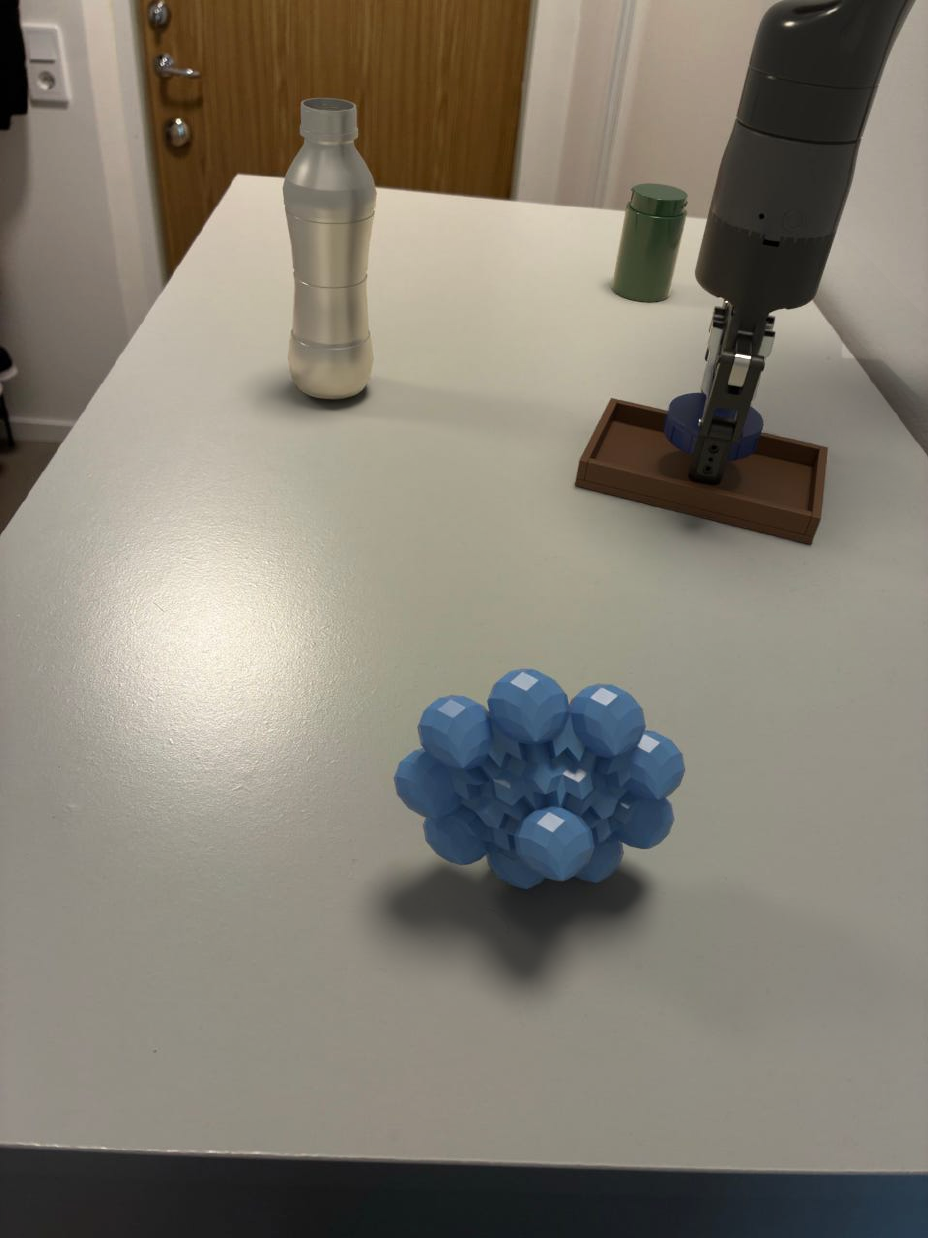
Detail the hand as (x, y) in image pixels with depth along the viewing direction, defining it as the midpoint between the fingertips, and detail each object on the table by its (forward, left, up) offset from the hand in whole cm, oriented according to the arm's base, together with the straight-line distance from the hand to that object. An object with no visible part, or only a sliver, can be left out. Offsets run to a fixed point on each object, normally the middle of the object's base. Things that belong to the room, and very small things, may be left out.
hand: (706, 455), depth 67 cm
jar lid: (0, 0, +3) cm, 3 cm away
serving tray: (0, 0, -2) cm, 2 cm away
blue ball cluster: (+2, +38, -2) cm, 38 cm away
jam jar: (+11, -34, -2) cm, 36 cm away
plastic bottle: (+29, 0, -2) cm, 29 cm away
